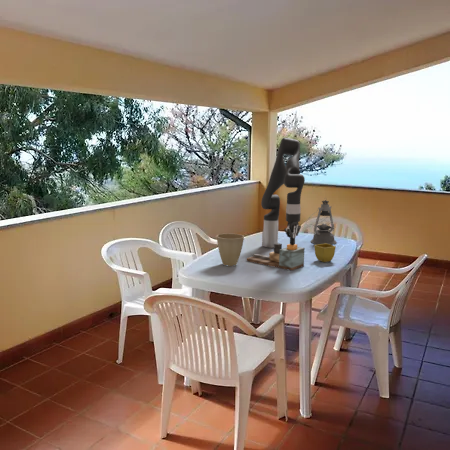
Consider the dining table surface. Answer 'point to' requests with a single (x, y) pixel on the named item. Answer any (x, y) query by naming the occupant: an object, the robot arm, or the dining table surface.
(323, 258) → the flower pot
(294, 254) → the rail rig
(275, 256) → the carriage
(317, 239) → the lantern
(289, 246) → the button
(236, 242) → the plant pot
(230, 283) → the dining table surface
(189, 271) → the dining table surface
